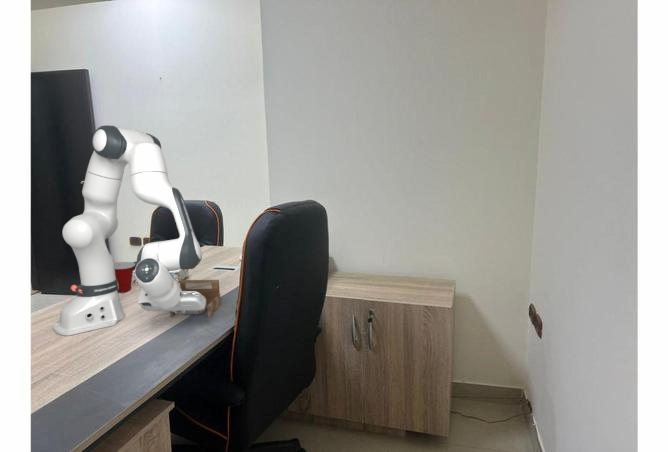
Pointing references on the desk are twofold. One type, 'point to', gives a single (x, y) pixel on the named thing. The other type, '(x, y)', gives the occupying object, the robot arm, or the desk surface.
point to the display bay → (203, 292)
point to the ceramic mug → (196, 310)
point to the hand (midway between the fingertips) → (181, 311)
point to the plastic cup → (124, 275)
